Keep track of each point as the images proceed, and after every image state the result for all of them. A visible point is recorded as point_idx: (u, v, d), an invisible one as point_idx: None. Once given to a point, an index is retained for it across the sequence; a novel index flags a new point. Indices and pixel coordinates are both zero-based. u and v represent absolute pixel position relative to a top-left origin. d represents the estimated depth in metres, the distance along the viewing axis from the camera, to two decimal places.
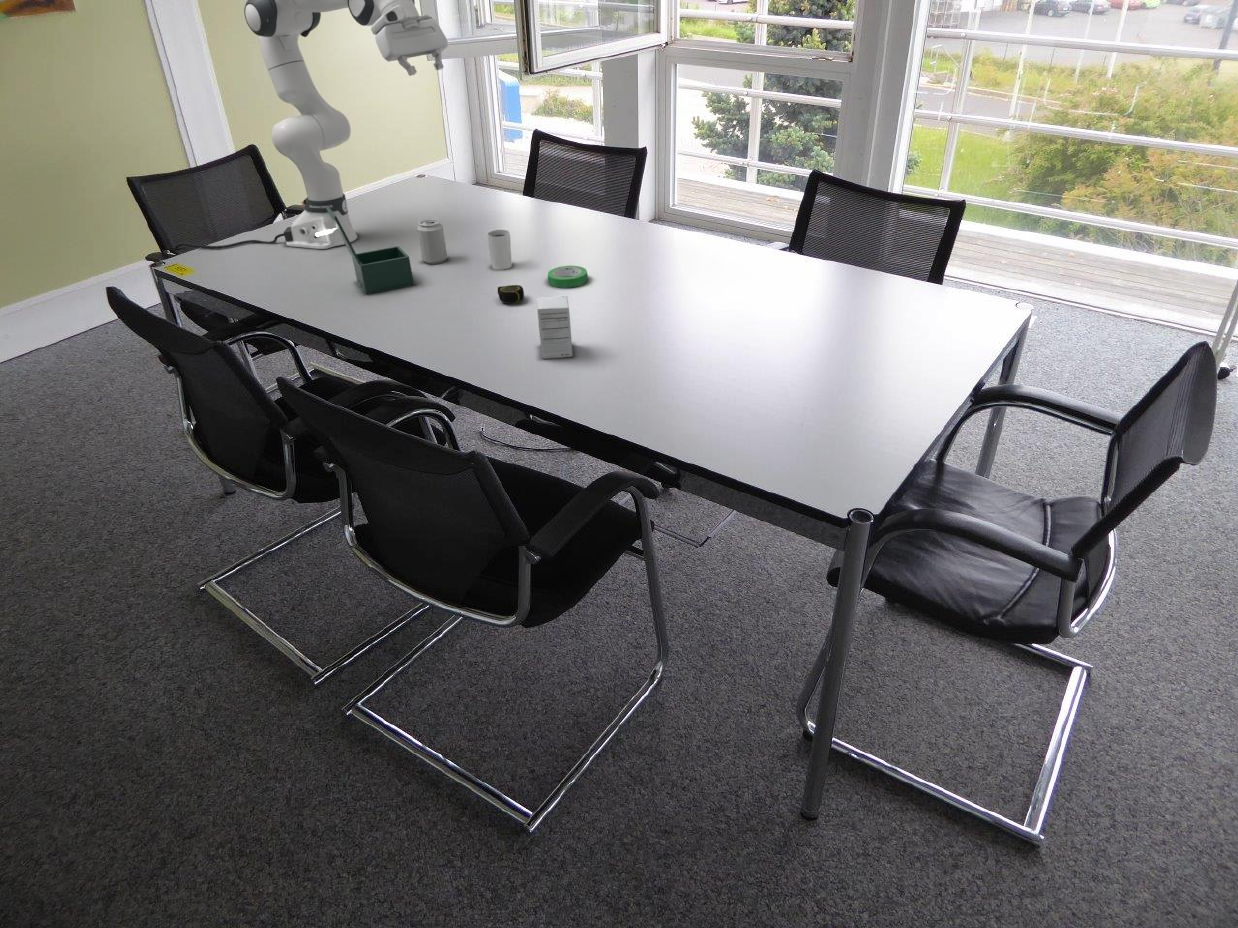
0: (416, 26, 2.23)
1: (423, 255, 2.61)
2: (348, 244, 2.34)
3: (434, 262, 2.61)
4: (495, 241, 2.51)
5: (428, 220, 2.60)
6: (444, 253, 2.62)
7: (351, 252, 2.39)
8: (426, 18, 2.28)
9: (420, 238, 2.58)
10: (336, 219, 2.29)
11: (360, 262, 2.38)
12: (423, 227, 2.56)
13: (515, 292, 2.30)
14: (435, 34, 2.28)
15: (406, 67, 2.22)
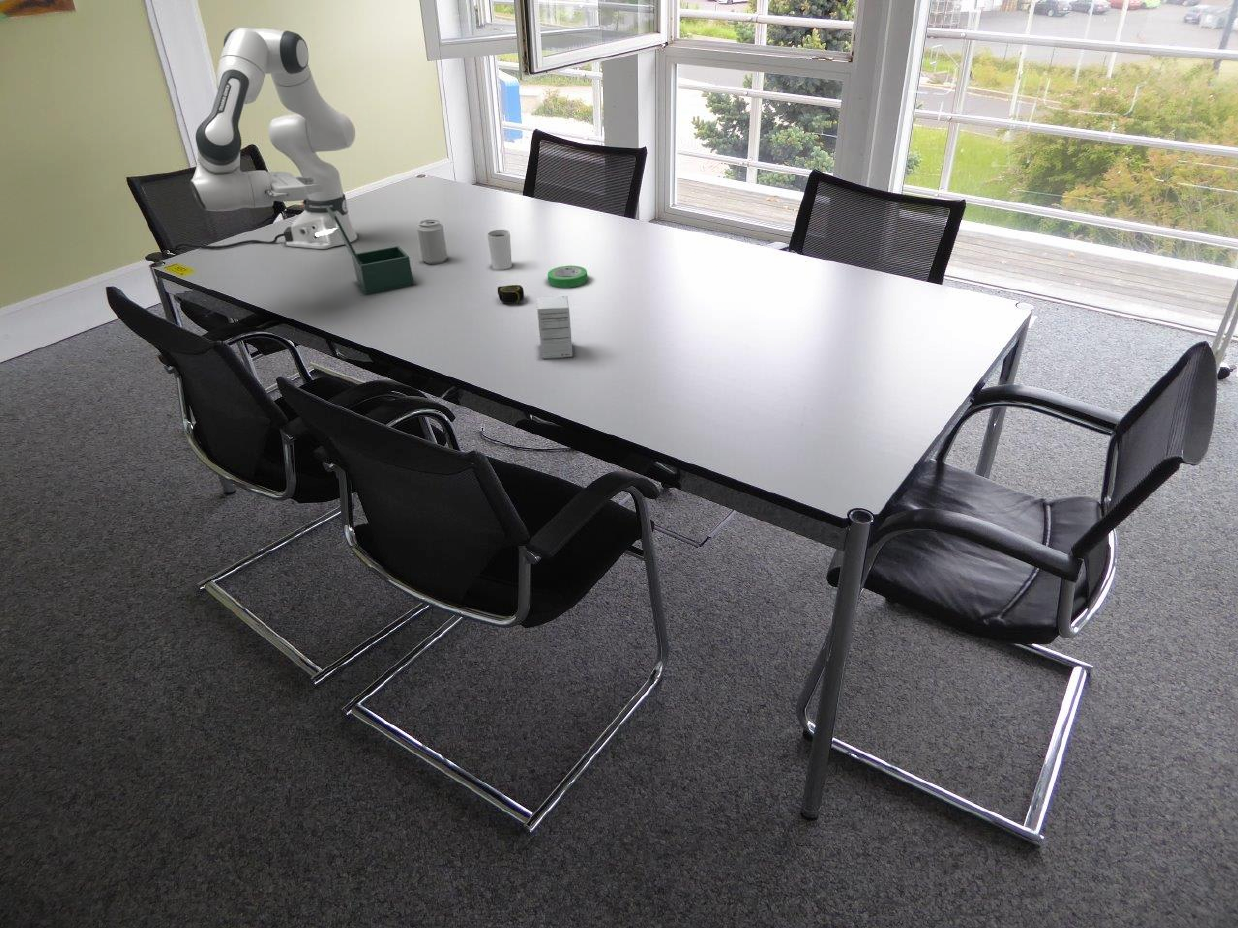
0: None
1: (423, 255, 2.61)
2: (348, 244, 2.34)
3: (434, 262, 2.61)
4: (495, 241, 2.51)
5: (428, 220, 2.60)
6: (444, 253, 2.62)
7: (351, 252, 2.39)
8: None
9: (420, 238, 2.58)
10: (336, 219, 2.29)
11: (360, 262, 2.38)
12: (423, 227, 2.56)
13: (515, 292, 2.30)
14: None
15: None
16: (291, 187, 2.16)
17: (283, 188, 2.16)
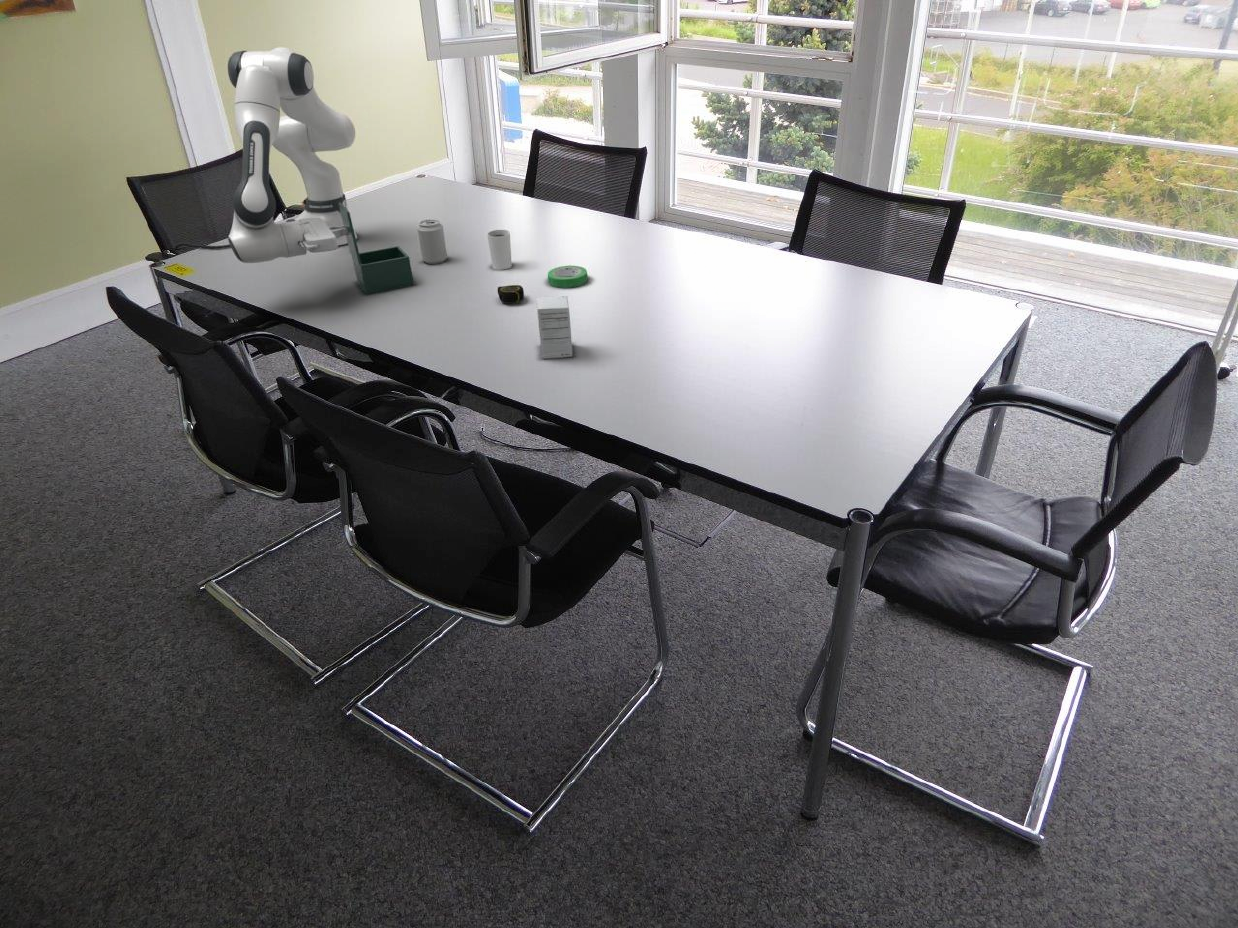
0: None
1: (423, 255, 2.61)
2: (354, 242, 2.34)
3: (434, 262, 2.61)
4: (495, 241, 2.51)
5: (428, 220, 2.60)
6: (444, 253, 2.62)
7: (353, 251, 2.39)
8: None
9: (420, 238, 2.58)
10: (348, 215, 2.30)
11: None
12: (423, 227, 2.56)
13: (515, 292, 2.30)
14: None
15: None
16: (322, 239, 2.26)
17: (314, 240, 2.26)
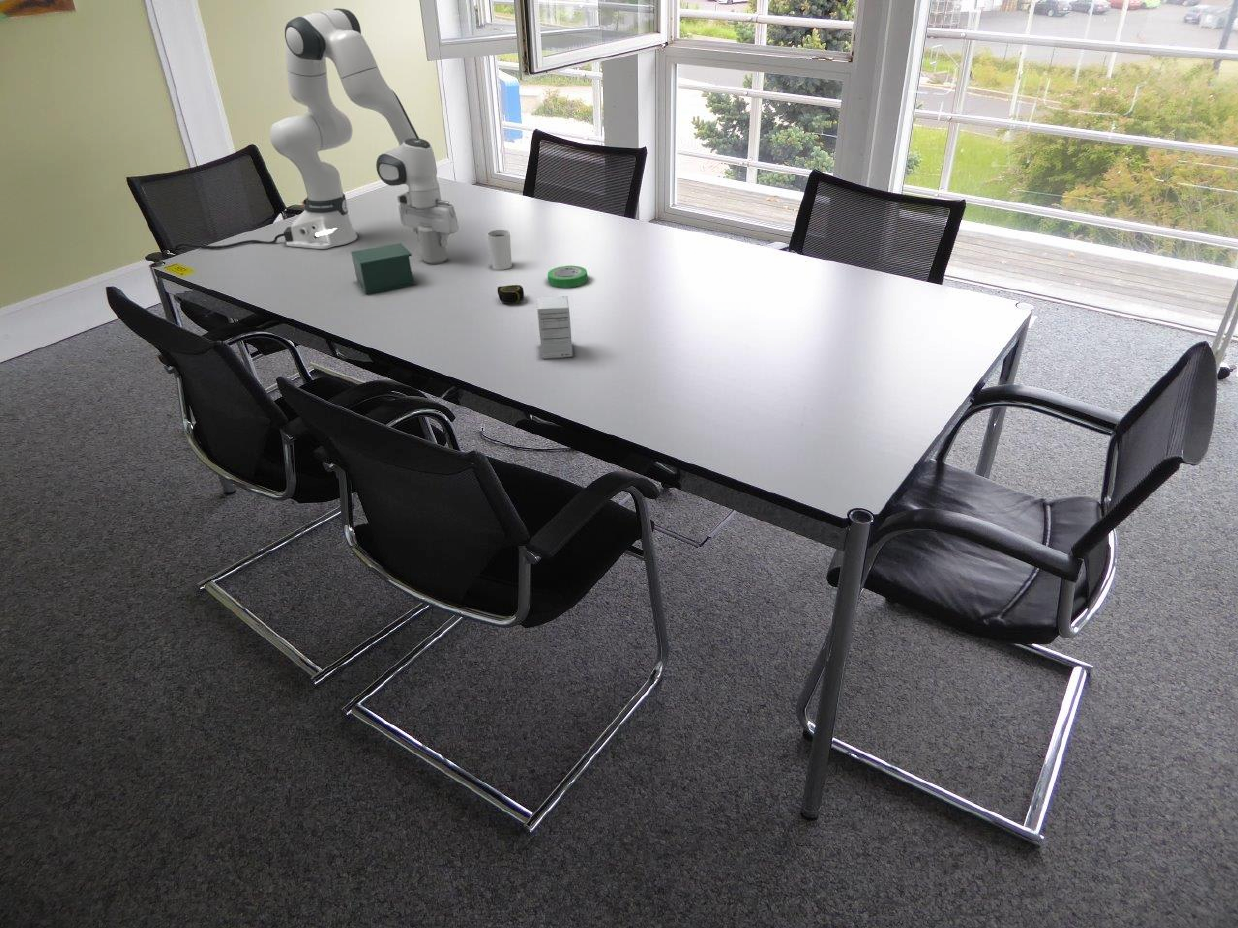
0: None
1: (423, 255, 2.61)
2: (383, 259, 2.40)
3: (434, 262, 2.61)
4: (495, 241, 2.51)
5: None
6: (444, 253, 2.62)
7: (366, 257, 2.42)
8: (444, 204, 2.51)
9: (420, 238, 2.58)
10: (408, 255, 2.43)
11: None
12: (423, 227, 2.56)
13: (515, 292, 2.30)
14: (442, 222, 2.53)
15: None
16: (456, 219, 2.54)
17: (455, 213, 2.53)
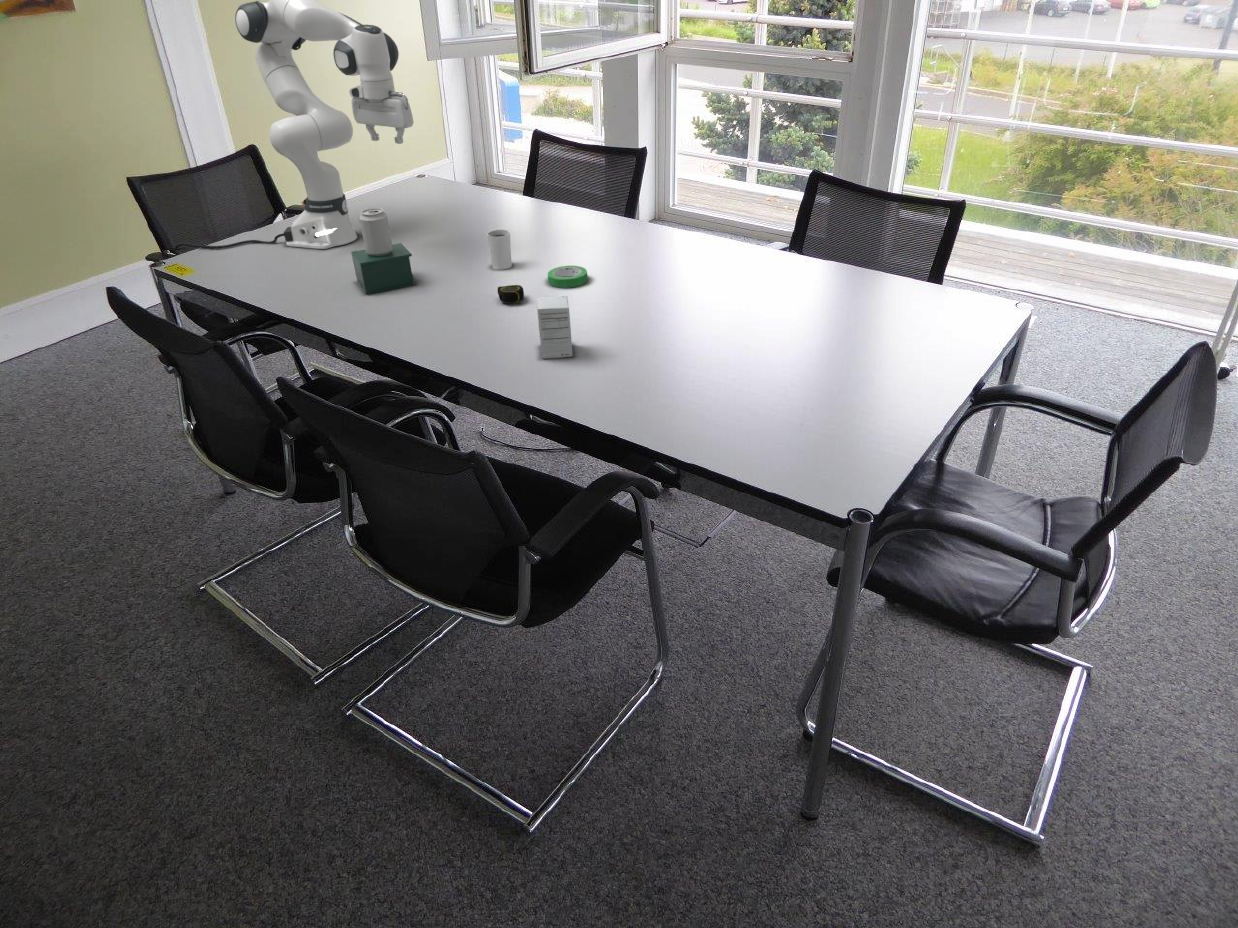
0: (377, 104, 2.42)
1: (366, 247, 2.41)
2: (383, 259, 2.40)
3: (378, 254, 2.41)
4: (495, 241, 2.51)
5: (371, 209, 2.40)
6: (389, 245, 2.42)
7: (366, 257, 2.42)
8: (398, 96, 2.39)
9: (362, 228, 2.38)
10: (408, 255, 2.43)
11: None
12: (365, 216, 2.36)
13: (515, 292, 2.30)
14: (395, 115, 2.41)
15: None
16: (411, 113, 2.42)
17: (409, 105, 2.41)
